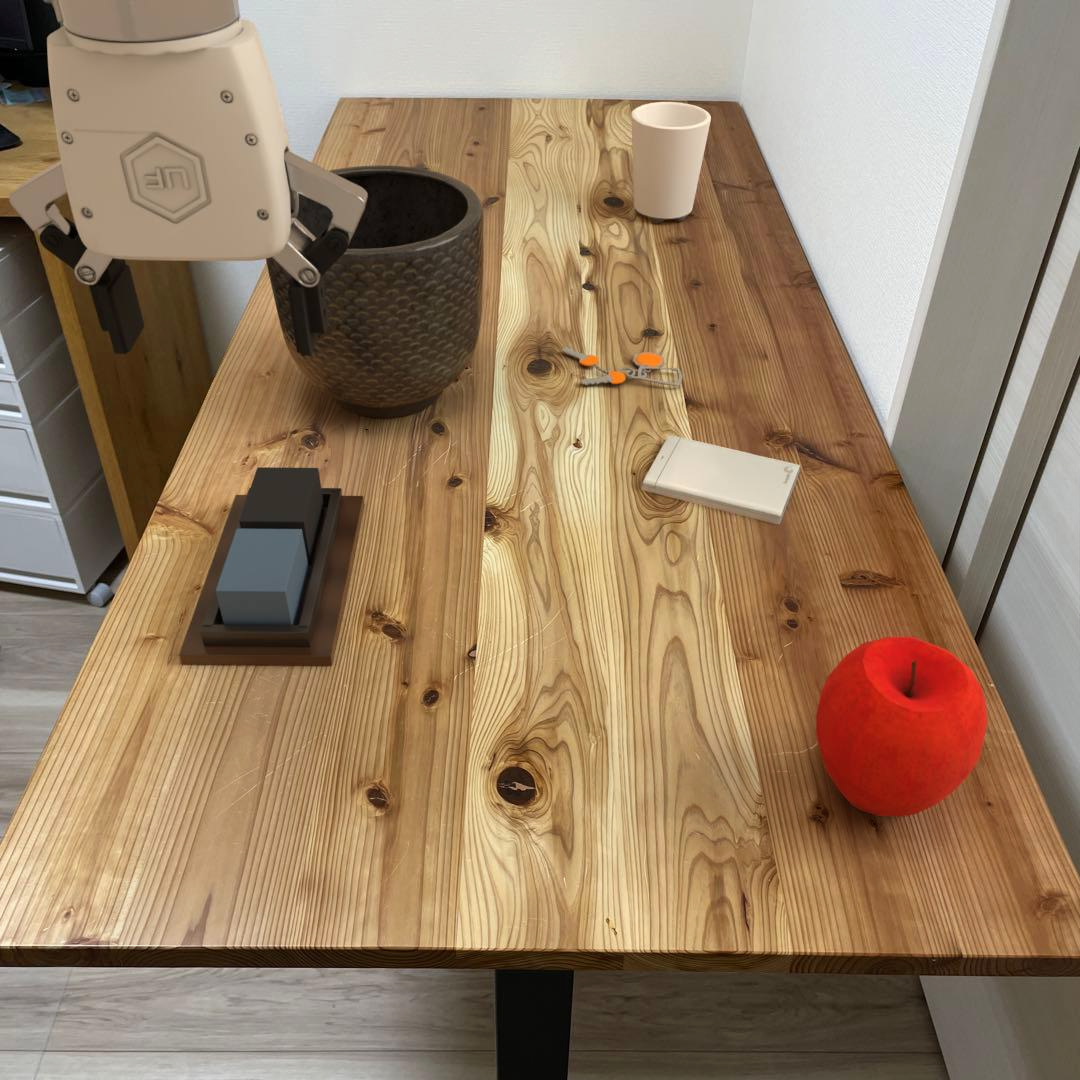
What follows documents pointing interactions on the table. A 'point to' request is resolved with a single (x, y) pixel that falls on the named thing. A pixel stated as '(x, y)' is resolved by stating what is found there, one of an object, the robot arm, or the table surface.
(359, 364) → the planter
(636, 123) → the cup
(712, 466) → the hard drive
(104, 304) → the robot arm
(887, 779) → the apple
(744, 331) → the table surface
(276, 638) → the backing board
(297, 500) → the pad
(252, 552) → the blue-grey rectangular block
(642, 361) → the key chain
